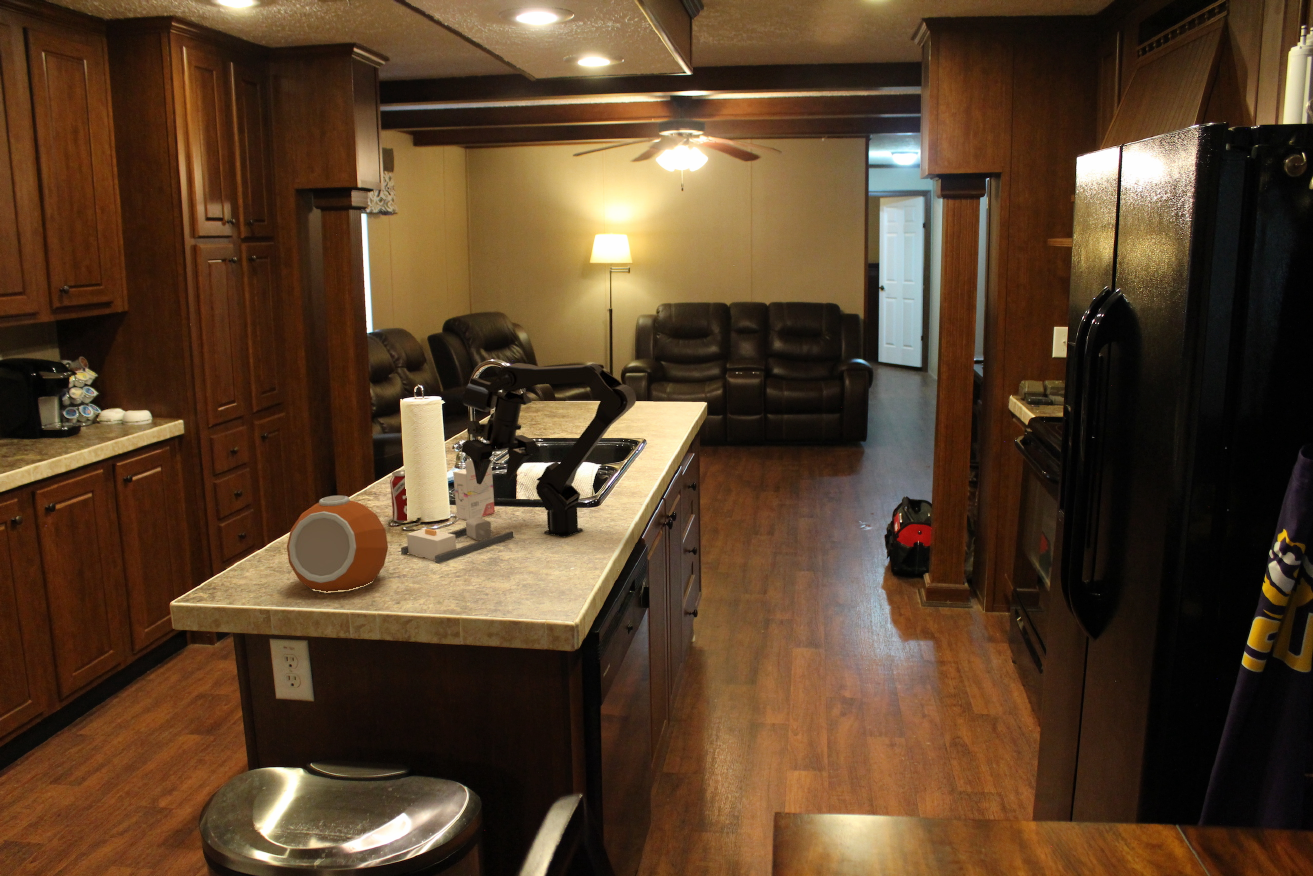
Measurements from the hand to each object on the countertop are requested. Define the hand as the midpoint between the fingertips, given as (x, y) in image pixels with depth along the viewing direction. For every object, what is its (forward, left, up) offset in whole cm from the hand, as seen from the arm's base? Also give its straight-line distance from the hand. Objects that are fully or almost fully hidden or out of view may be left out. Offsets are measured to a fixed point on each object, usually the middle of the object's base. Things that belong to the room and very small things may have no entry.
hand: (493, 481), depth 238 cm
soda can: (+24, +6, -11) cm, 28 cm away
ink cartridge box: (+13, -6, -12) cm, 19 cm away
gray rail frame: (-3, +14, -11) cm, 18 cm away
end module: (-3, +22, -11) cm, 25 cm away
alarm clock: (-2, +44, -12) cm, 46 cm away
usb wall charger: (-3, +7, -12) cm, 14 cm away
